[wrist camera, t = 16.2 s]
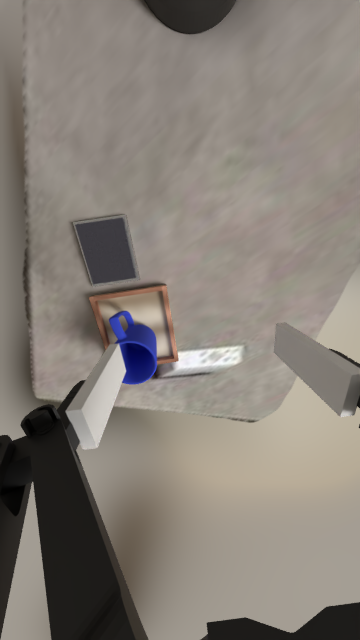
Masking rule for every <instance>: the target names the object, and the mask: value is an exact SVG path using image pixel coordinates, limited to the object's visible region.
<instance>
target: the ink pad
mask: <svg viewBox="0 0 360 640" xmlns="http://www.w3.org/2000/svg"><path fill="white" fill-rule="evenodd" d="M73 225H74V228H75V231H76V235H77V238H78V241H79V245H80V248H81V251H82V254H83V258H84V261H85V264H86V267H87V271H88V274H89V277H90V280H91V284H92V287H96V286H103V285H109V284H116V283H122V282H129V281H136V280H140V276H139V272H138V267H137V262H136V258H135V253H134V248H133V244H132V239H131V234H130V230H129V225H128V220H127V216H126V215H119V216H112V217H106V218H99V219H92V220H85V221H79V222H73Z"/></svg>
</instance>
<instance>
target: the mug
mask: <svg viewBox="0 0 360 640" xmlns="http://www.w3.org/2000/svg"><path fill="white" fill-rule="evenodd" d="M122 315H123V316H124V317H125V319H126V321H127V324H128V328H127V330H126V331H125V332H124V331H123V328H122V326H121V324H120V321H119V317H120V316H122ZM109 323H110V325H111V327H112V329H113V332H114V334H115V335H116V337H117V339H118V340H117V341H116V342H115V343H114V344H118V343H119V346H120V350H121V353H122V357H123V361H124V365H125V368H126V373H125V375H124V378H123V381H122V383H125V384H139V383H143V382H145V381H147V380H148V379H149V378H151V377H152V375H153V374H154V373H155V370H156V367H157V341H156V336H155V333H154V332H153V330H152V329H151V328H149V327H148V326H145V325H141V324H139V325H134V321H133V318H132V316H131V314H130V313H129V312H128V311H121V312H118V313H116V314H115V315H113V316H112V317H110V318H109Z"/></svg>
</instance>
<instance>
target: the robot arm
mask: <svg viewBox="0 0 360 640" xmlns="http://www.w3.org/2000/svg"><path fill="white" fill-rule="evenodd" d="M145 1H146V3H147V4H148V6H149V7H150V9H151V10H152V11H153V12H154V14H155V15H156V16H157V17H158V18H159V19H160V20H161V21H162V22H163V23H165V24H166V25H167V26H169V27H171V28H172V29H175V30H177V31H180V32H183V33H200V32H203V31H206V30H208V29H210V28H212V27H214V26H215V25H217V24H218V23H219V22H220V21H221V20H222V19H223V18H224V17H225V16H226V15H227V14H228V13H229V11H230V10H231V8H232V7H233V5H234V4H235V2H236V0H145ZM274 353H275V354H276V355H277V356H278V357H279V358H280V359H281V360H282V361H283V362H284V363H285V364H286V365H287V366H288V367H289V368H290V369H291V370H292V371H293V372H294V373H296V374H297V375H298V376H299V377H300V378H301V379H302V380H303V381H304V382H305V383H306V384H307V385H308V386H309V387H310V388H311V389H312V390H313V391H314V392H315V393H316V394H317V395H318V396H319V397H320V398H321V399H322V400H324V402H326V404H328V405H329V407H331V408H332V409H333V410H334V411H335V412H336V413H337V414H338V415H339V416H340V417H343V416H351V415H354V414H355V411H356V408H357V406H358V407H359V408H360V364H359V363H357V362H355V361H354V360H352V359H350V358H348V357H347V356H345V355H344V354H342V353H340V352H338V351H335V350H332V349H328V348H326V347H324V346H323V345H321V344H320V343H318V342H316V341H315V340H313V339H311V338H310V337H308V336H306V335H305V334H303V333H302V332H300V331H298V330H297V329H295V328H293V327H292V326H290V325H289V324H287V323H277V324H276V331H275V343H274ZM125 373H126V368H125V365H124V361H123V357H122V353H121V350H120V346H119V343H118V344H110V345H109V346H108V348H107V349H106V351H105V352H104V354H103V355H102V357H101V358H100V360H99V361H98V363H97V364H96V366H95V367H94V369H93V370H92V372H91V373H90V375H89V376H88V378H87V379H86V380H82V381H80V382H79V383H77V384H76V385H75V386H74V387H73V388H72V390H71V391H70V392H69V394H68V395H67V397H66V399H64V401H63V402H62V404H61V405H60V407H59V408H58V409H57V410H56V408H55V407H54V406H53V405H50V404H48V405H44V406H41V407H38V408H37V409H35V410H33V411H32V412H30V413H29V414H28V415H27V416H25V418H24V419H23V420H22V422H21V427H22V429H23V430H24V432H25V434H26V435H27V436H24V437H22V438H19V439H16V440H14V441H12V440H11V438H10V437H9V436H8V435H2V436H0V638H1V633H2V628H3V623H4V618H5V613H6V608H7V603H8V598H9V593H10V588H11V583H12V578H13V573H14V568H15V564H16V558H17V554H18V548H19V544H20V539H21V533H22V528H23V524H24V518H25V514H26V509H27V504H28V499H29V494H30V489H31V483H32V482H33V483H34V492H35V501H36V508H37V517H38V527H39V535H40V544H41V553H42V561H43V569H44V578H45V587H46V596H47V604H48V612H49V622H50V630H51V639H52V640H148V637H147V635H146V633H145V630H144V628H143V626H142V623H141V621H140V618H139V616H138V613H137V610H136V608H135V605H134V602H133V600H132V597H131V594H130V592H129V589H128V586H127V584H126V581H125V578H124V576H123V573H122V570H121V568H120V565H119V563H118V560H117V557H116V554H115V552H114V549H113V546H112V544H111V541H110V539H109V536H108V533H107V531H106V528H105V525H104V523H103V520H102V518H101V515H100V512H99V509H98V507H97V504H96V501H95V499H94V496H93V493H92V491H91V488H90V485H89V483H88V480H87V478H86V475H85V472H84V470H83V467H82V464H81V462H80V459H79V456H78V454H77V452H76V449H77V447H78V445H79V443H80V444H81V446H82V449H83V450H85V449H92V448H97V447H98V444H99V442H100V439H101V437H102V434H103V431H104V429H105V426H106V423H107V421H108V418H109V415H110V413H111V410H112V407H113V405H114V402H115V399H116V397H117V394H118V391H119V389H120V386H121V383H122V381H123V378H124V375H125ZM359 428H360V425H359ZM207 630H208V634H207V635H206V636H205V637H204V638H202V639H201V640H360V602H359V603H351V604H344V605H338V606H337V605H336V606H329V607H326V608H324V609H323V610H322V611H321V612H320V613H318V614H317V615H316V616H315V617H313V618H312V619H311V620H310V621H308V622H307V623H306V624H305V625H303V626H302V627H301V628H300V629H299V630H297V631H296V632H294V633H289V632H286V631H283V630H280V629H277V628H274V627H272V626H268V625H266V624H263V623H260V622H257V621H254V620H251V619H248V618H239V619H231V620H223V621H216V622H208V623H207Z"/></svg>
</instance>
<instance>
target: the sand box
mask: <svg viewBox="0 0 360 640" xmlns="http://www.w3.org/2000/svg"><path fill="white" fill-rule="evenodd" d="M89 299H90V302H91V306H92V309H93V312H94V315H95V318H96V321H97V324H98V327H99V330H100V334H101V337H102V340H103V343H104V346H105V349H107V348H108V346H109V345H110V344H114V343H115V342H116V341H117V340H118V339H117V337H116V335H115V334H114V332H113V329H112V327H111V325H110V323H109V318H110V317H112V316H113V315H115V314H116V313H118V312H121V311H128V312H129V313H130V314H131V316H132V318H133V321H134V325H139V324H141V325H145V326H148V327H149V328H151V329H152V330H153V332H154V333H155V336H156V341H157V364H163V363H170V362H176V361H178V353H177V347H176V341H175V335H174V329H173V323H172V317H171V311H170V305H169V299H168V293H167V287H166V285H159V286H153V287H146V288H139V289H133V290H126V291H120V292H113V293H106V294H100V295H93V296H91V297H89ZM119 321H120V324H121V326H122V328H123V331H124V332H125V331H126V330H127V328H128V324H127V321H126V319H125V317H124V316H123V315H122V316H120V317H119Z"/></svg>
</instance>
